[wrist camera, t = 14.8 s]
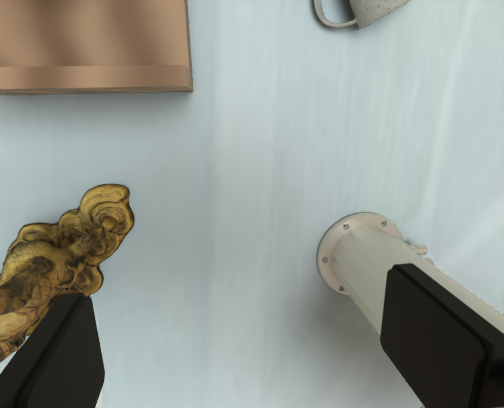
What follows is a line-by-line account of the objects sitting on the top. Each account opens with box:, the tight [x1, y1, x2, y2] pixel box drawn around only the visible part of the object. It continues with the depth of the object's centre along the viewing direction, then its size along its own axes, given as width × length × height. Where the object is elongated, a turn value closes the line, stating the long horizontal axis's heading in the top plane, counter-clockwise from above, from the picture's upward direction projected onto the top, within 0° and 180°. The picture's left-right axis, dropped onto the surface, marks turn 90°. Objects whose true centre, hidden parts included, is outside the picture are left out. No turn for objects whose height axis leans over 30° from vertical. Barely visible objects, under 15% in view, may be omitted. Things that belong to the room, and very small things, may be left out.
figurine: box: [0, 184, 134, 362], centre depth 34 cm, size 13×25×20 cm, turn 138°
